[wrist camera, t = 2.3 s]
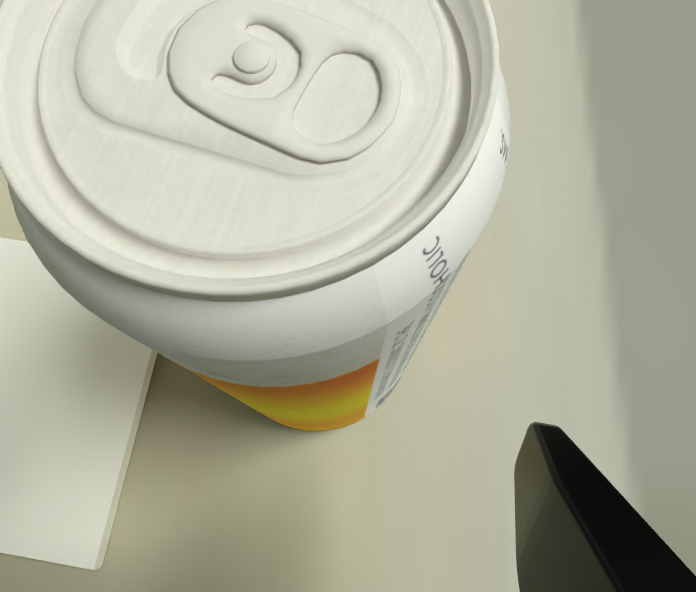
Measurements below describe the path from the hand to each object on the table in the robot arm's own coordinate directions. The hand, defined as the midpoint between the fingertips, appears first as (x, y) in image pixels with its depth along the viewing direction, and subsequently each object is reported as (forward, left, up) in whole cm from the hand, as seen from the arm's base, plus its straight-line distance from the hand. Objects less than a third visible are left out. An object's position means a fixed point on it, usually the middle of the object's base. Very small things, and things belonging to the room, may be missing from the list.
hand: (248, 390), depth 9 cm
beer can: (+3, +2, -11) cm, 11 cm away
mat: (-5, +9, -11) cm, 15 cm away
